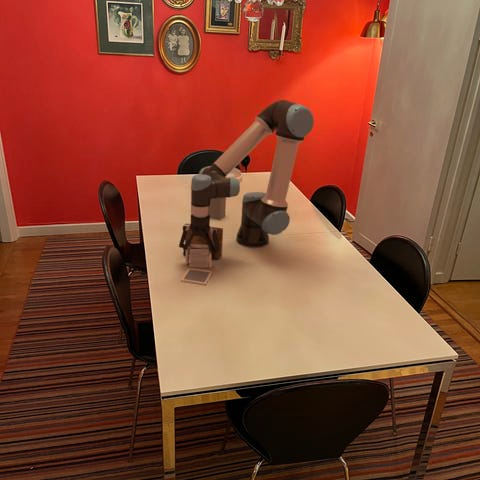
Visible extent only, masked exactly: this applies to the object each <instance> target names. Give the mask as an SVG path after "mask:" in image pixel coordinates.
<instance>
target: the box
mask: <svg viewBox="0 0 480 480" xmlns="http://www.w3.org/2000/svg"><path fill="white" fill-rule="evenodd" d="M189 268H205V269H206V268H208V269H209V247H208V245H193V244H190V255H189Z"/></svg>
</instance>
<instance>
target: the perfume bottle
mask: <svg viewBox="0 0 480 480" xmlns="http://www.w3.org/2000/svg"><path fill="white" fill-rule="evenodd" d="M226 202H227V198H218V199H211V201H210V214H209V215H210V219H212V220H217V221H220V220H222V219H223V218H225V216H226V210H227V209H226V208H227V207H226V206H227V205H226V204H227V203H226Z"/></svg>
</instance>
